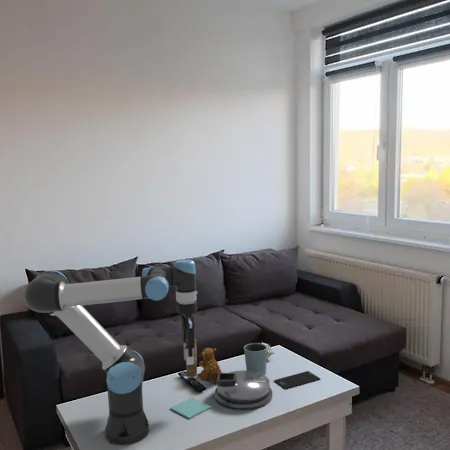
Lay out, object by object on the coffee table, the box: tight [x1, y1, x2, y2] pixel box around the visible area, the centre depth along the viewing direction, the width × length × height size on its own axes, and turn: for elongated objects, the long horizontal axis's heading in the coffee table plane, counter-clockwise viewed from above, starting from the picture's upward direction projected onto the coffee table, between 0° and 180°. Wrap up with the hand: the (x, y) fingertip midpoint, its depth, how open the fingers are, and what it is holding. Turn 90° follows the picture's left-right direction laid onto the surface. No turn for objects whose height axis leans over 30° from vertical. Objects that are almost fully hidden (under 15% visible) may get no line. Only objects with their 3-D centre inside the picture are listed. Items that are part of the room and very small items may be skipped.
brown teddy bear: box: [196, 347, 223, 384], centre depth 214 cm, size 10×14×13 cm
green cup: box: [243, 342, 268, 376], centre depth 219 cm, size 10×10×12 cm
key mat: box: [169, 397, 212, 420], centre depth 190 cm, size 11×11×1 cm
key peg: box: [185, 337, 198, 378], centre depth 188 cm, size 4×4×14 cm
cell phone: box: [274, 370, 321, 390], centre depth 212 cm, size 9×18×1 cm, turn 118°
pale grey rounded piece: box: [261, 340, 275, 360], centre depth 234 cm, size 9×8×10 cm
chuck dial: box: [216, 370, 271, 404], centre depth 199 cm, size 21×21×6 cm
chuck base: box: [214, 387, 273, 411], centre depth 200 cm, size 23×23×2 cm
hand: (189, 361), depth 188 cm, fingers closed on key peg, 4 cm apart
